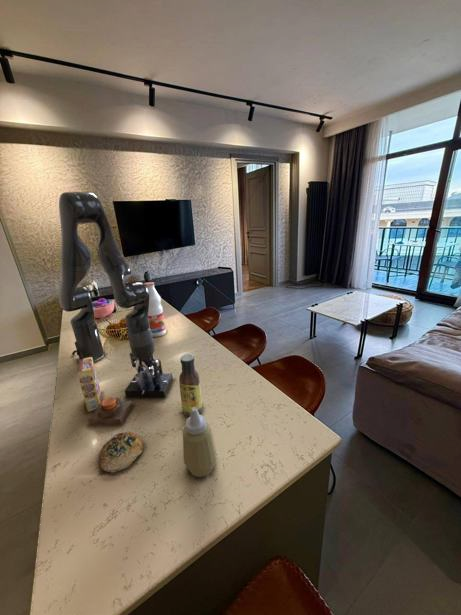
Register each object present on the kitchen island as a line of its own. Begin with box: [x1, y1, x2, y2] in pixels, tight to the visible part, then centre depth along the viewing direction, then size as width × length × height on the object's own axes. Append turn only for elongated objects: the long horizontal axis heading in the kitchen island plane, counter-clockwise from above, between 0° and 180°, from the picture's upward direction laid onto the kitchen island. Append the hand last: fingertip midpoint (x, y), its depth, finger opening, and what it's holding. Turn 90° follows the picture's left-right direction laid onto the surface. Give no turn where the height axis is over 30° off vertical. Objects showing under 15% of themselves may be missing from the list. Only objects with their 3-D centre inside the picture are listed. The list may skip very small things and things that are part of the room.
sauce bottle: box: [178, 353, 203, 417], centre depth 78 cm, size 6×6×20 cm
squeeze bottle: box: [182, 407, 217, 478], centre depth 60 cm, size 8×8×18 cm
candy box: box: [76, 357, 102, 412], centre depth 85 cm, size 9×4×15 cm, turn 26°
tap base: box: [124, 373, 174, 399], centre depth 93 cm, size 14×13×3 cm
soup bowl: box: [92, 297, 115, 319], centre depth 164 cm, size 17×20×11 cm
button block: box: [88, 397, 133, 426], centre depth 81 cm, size 10×8×4 cm
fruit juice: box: [143, 281, 167, 338], centre depth 132 cm, size 9×9×28 cm
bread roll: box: [98, 431, 144, 474], centre depth 67 cm, size 11×11×5 cm
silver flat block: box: [134, 366, 161, 389], centre depth 91 cm, size 9×2×5 cm, turn 146°
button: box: [101, 396, 117, 410], centre depth 80 cm, size 4×4×2 cm
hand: (149, 381), depth 92 cm, fingers open, 7 cm apart
